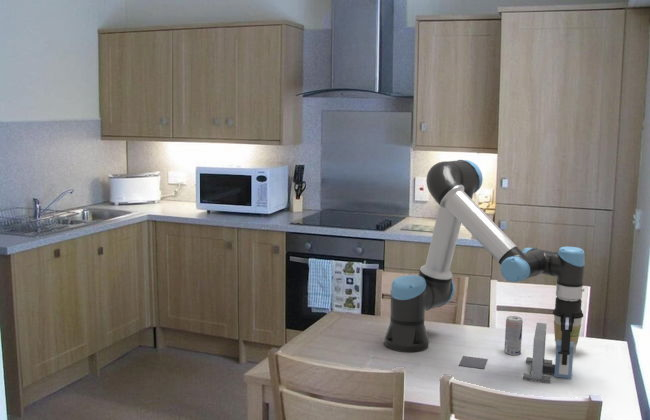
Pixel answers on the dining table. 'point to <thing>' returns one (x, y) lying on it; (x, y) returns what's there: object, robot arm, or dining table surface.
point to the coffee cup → (576, 327)
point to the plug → (555, 368)
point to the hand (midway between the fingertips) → (563, 370)
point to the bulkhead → (538, 356)
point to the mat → (473, 362)
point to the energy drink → (513, 335)
